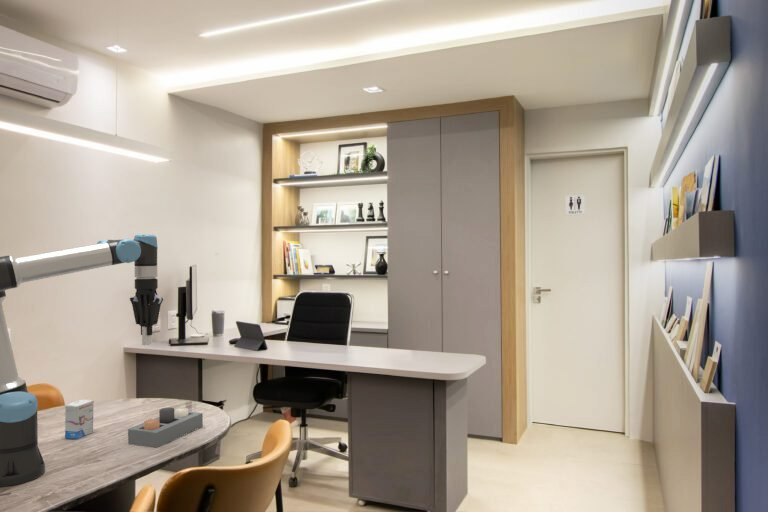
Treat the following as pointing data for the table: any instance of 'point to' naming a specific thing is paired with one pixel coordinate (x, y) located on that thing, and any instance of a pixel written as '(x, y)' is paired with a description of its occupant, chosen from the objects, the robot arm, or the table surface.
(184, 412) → the button ivory
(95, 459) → the table surface
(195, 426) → the panel
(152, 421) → the button terracotta
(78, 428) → the ink box
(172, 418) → the button black
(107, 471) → the table surface
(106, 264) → the robot arm
